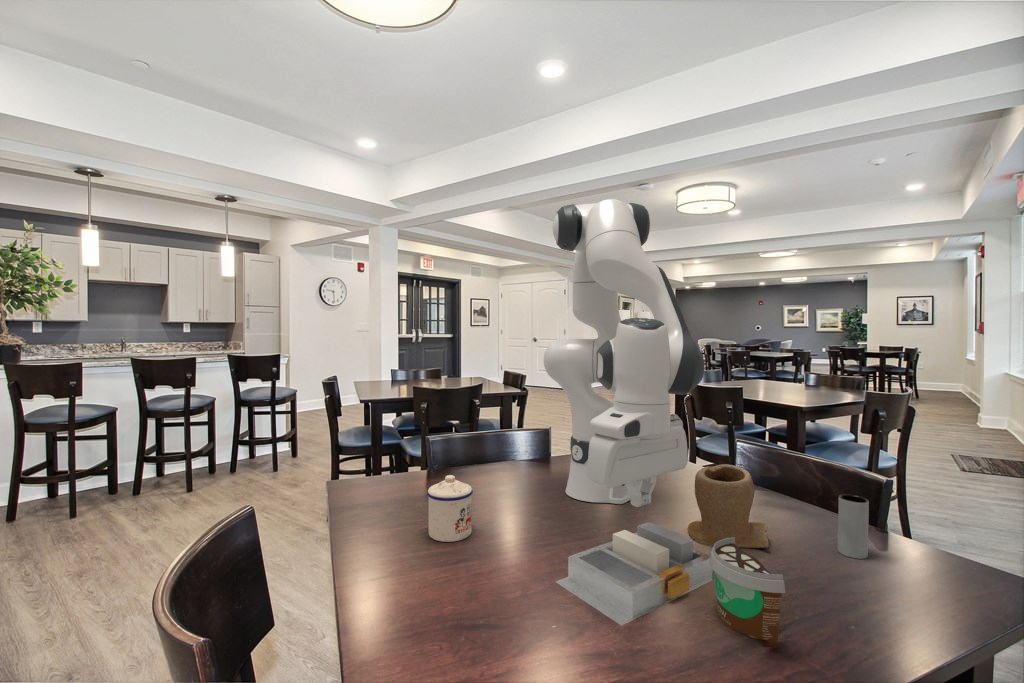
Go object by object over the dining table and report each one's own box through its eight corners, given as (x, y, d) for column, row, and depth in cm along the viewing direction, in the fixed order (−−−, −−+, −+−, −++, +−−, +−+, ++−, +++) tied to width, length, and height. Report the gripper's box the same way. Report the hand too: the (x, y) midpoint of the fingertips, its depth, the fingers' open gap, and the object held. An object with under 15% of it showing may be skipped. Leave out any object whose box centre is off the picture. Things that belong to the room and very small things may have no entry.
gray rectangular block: (648, 555, 86) (648, 521, 86) (692, 576, 79) (693, 539, 79) (637, 559, 85) (637, 525, 84) (681, 581, 77) (681, 544, 77)
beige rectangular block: (624, 564, 83) (624, 529, 83) (668, 587, 75) (669, 549, 75) (612, 569, 81) (612, 534, 81) (656, 593, 74) (656, 554, 74)
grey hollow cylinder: (862, 550, 91) (863, 495, 91) (871, 560, 86) (872, 503, 86) (834, 546, 92) (835, 492, 92) (842, 556, 88) (843, 500, 88)
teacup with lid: (463, 545, 92) (463, 485, 92) (419, 540, 95) (419, 481, 94) (483, 521, 104) (483, 467, 104) (444, 517, 106) (444, 464, 106)
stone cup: (695, 555, 89) (696, 474, 88) (683, 529, 100) (684, 457, 100) (784, 562, 86) (786, 478, 86) (762, 534, 98) (763, 460, 97)
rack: (653, 549, 91) (653, 523, 91) (726, 582, 79) (726, 553, 79) (555, 587, 77) (555, 557, 77) (624, 635, 65) (625, 599, 65)
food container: (693, 603, 73) (693, 537, 73) (732, 601, 74) (733, 535, 73) (738, 657, 61) (739, 579, 61) (784, 655, 61) (785, 577, 61)
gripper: (666, 410, 86) (665, 487, 87) (581, 422, 75) (581, 511, 75) (697, 415, 81) (696, 497, 81) (612, 429, 69) (611, 525, 70)
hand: (640, 504), depth 78 cm, fingers closed
